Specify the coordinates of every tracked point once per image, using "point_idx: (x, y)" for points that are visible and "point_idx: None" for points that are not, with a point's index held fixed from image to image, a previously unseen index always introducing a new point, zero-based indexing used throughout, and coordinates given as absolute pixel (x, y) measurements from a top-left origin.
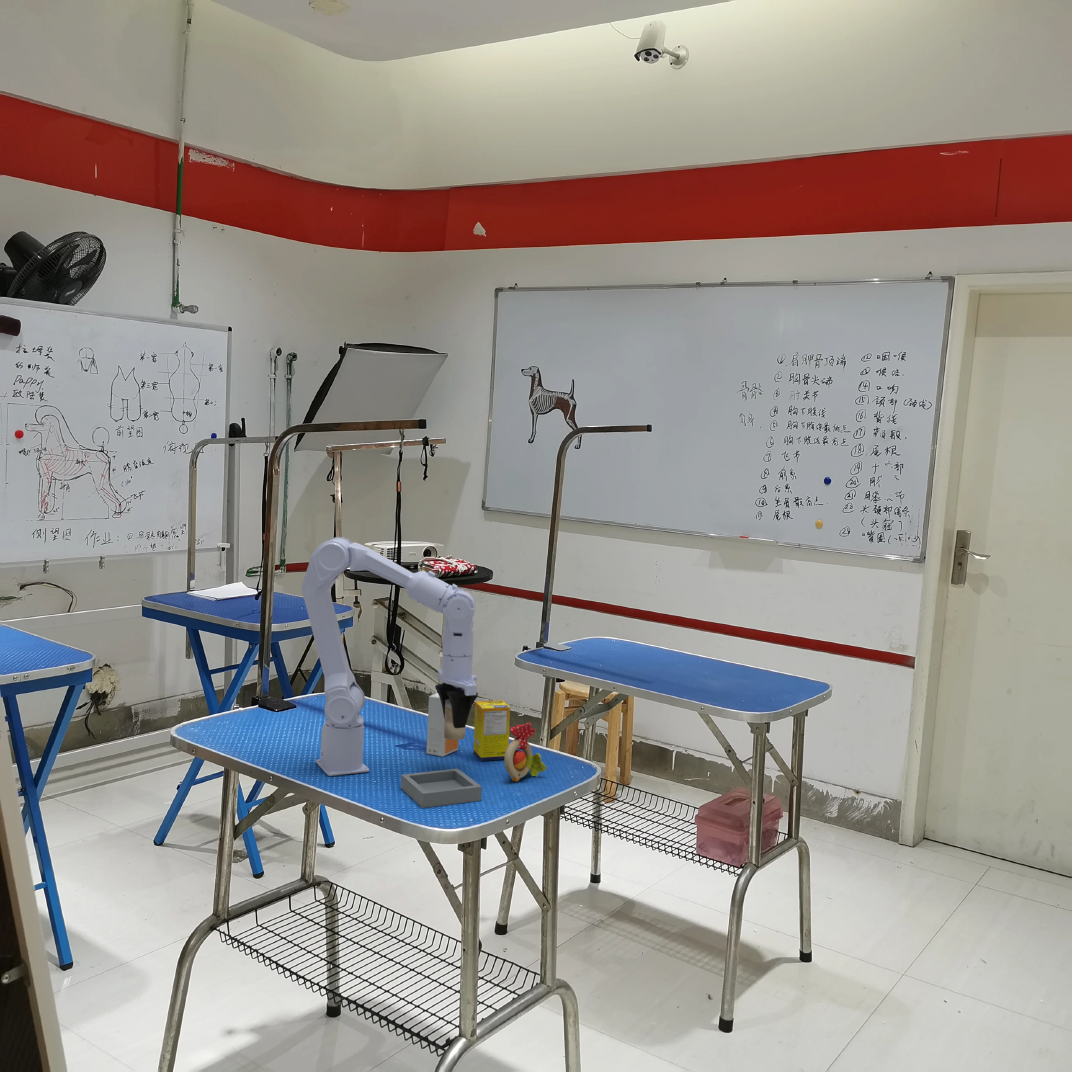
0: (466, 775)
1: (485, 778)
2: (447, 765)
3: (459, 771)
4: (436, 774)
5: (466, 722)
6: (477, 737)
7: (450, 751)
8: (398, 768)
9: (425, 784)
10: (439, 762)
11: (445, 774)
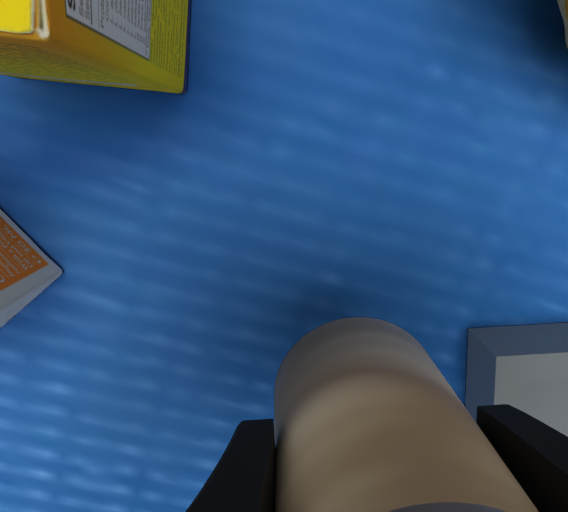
0: None
1: (472, 178)
2: (209, 293)
3: (545, 362)
4: None
5: (543, 423)
6: (54, 76)
7: (3, 217)
8: None
9: None
10: (150, 315)
11: None
